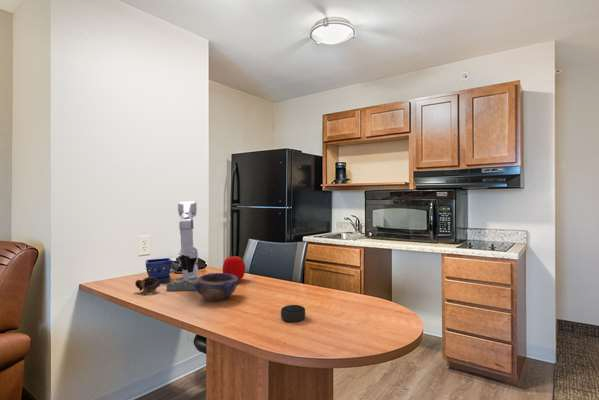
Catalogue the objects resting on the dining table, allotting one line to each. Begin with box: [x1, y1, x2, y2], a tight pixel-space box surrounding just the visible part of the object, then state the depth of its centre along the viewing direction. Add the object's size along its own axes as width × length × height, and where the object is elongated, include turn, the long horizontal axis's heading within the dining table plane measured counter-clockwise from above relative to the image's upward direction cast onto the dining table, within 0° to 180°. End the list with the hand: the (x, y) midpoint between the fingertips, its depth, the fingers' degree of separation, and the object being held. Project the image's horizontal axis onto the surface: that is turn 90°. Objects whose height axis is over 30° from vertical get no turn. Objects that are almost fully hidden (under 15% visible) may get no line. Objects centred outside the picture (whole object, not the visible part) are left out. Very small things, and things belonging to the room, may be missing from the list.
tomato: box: [222, 254, 246, 281], centre depth 186 cm, size 13×11×14 cm
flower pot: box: [145, 257, 172, 284], centre depth 191 cm, size 13×13×12 cm
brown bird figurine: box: [134, 276, 161, 295], centre depth 167 cm, size 12×10×8 cm
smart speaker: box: [280, 304, 306, 323], centre depth 124 cm, size 9×9×4 cm
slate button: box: [189, 275, 199, 284], centre depth 172 cm, size 4×4×4 cm
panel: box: [166, 280, 196, 292], centre depth 172 cm, size 8×24×3 cm, turn 87°
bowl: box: [194, 272, 241, 302], centre depth 153 cm, size 18×18×10 cm
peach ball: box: [174, 275, 184, 284], centre depth 173 cm, size 4×4×4 cm
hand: (187, 271), depth 168 cm, fingers open, 7 cm apart
